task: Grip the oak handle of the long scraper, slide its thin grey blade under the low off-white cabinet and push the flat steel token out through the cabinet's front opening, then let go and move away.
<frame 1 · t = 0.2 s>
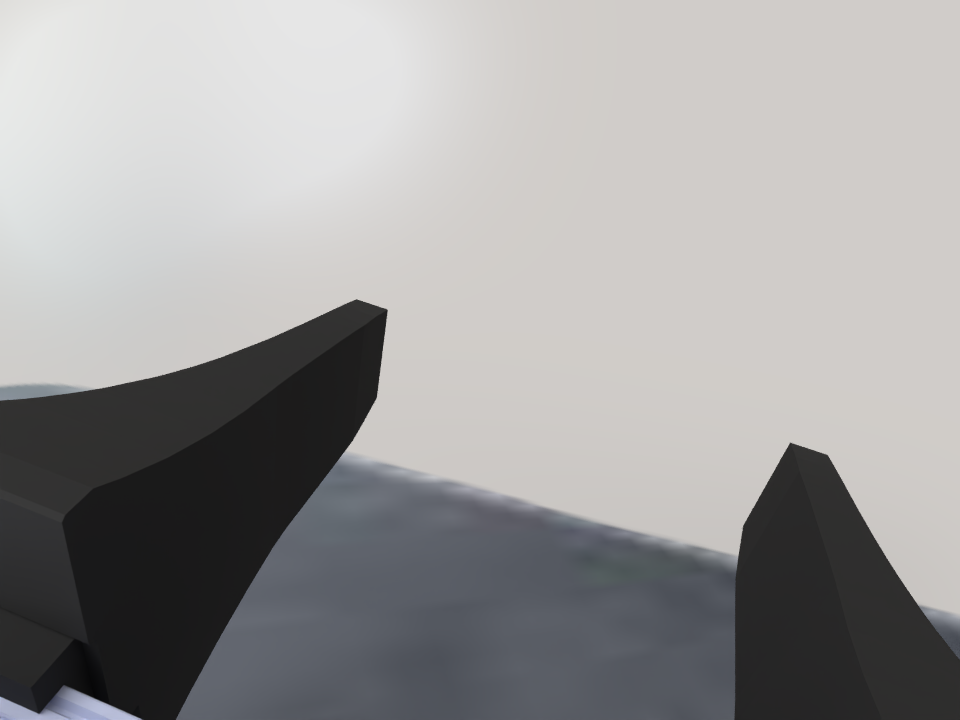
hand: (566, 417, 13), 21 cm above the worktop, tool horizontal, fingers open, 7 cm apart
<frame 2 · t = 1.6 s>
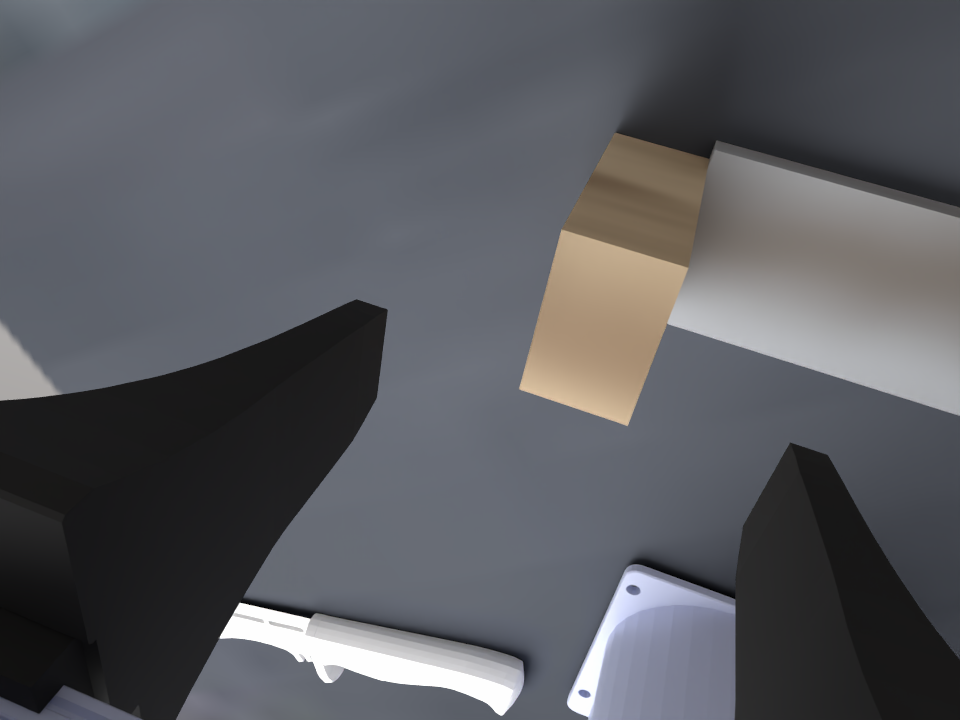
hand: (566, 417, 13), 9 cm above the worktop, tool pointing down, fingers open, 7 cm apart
scraper: (638, 215, 21), on the worktop
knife: (257, 637, 40), on the worktop
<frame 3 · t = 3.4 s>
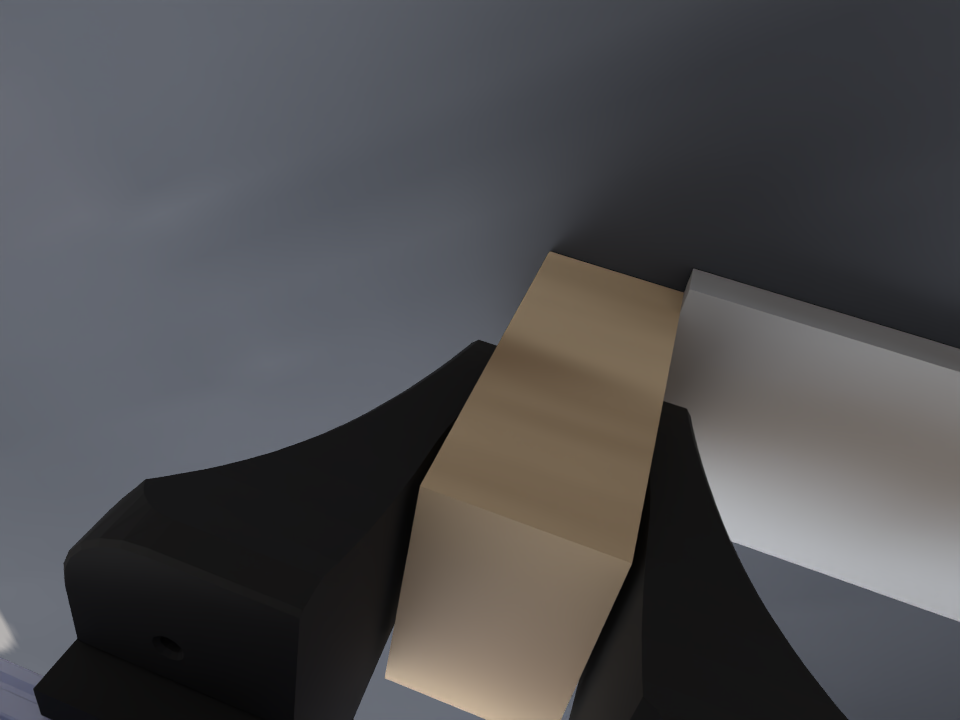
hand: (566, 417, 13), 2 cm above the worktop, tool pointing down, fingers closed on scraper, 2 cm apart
scraper: (587, 359, 15), on the worktop, touching gripper
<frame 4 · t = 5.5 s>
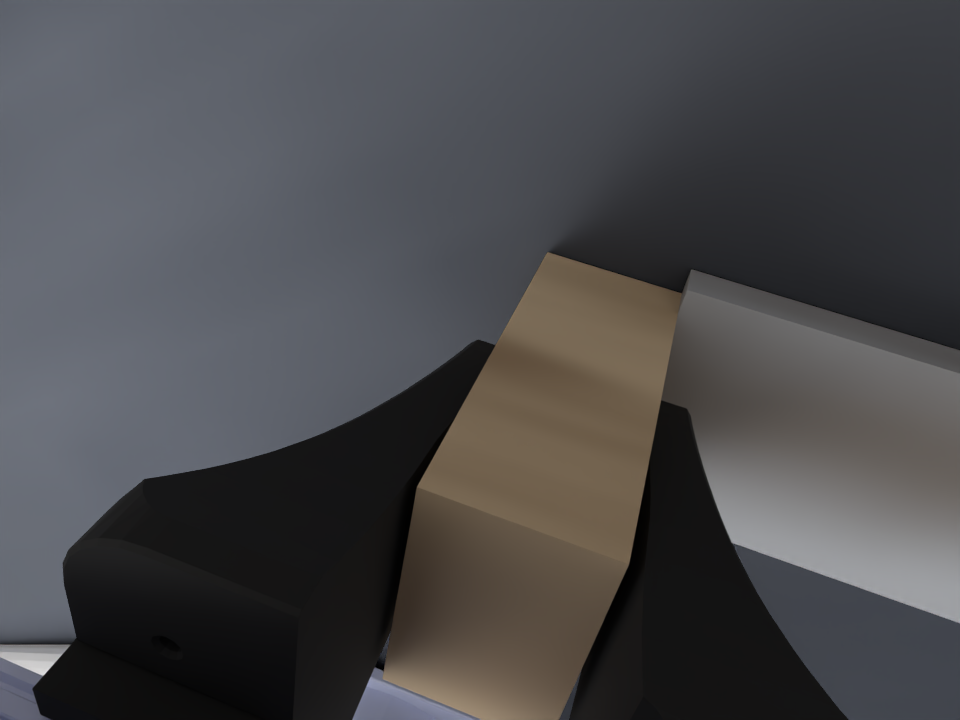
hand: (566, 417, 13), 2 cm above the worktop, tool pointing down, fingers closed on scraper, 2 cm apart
scraper: (585, 360, 15), on the worktop, touching gripper, token
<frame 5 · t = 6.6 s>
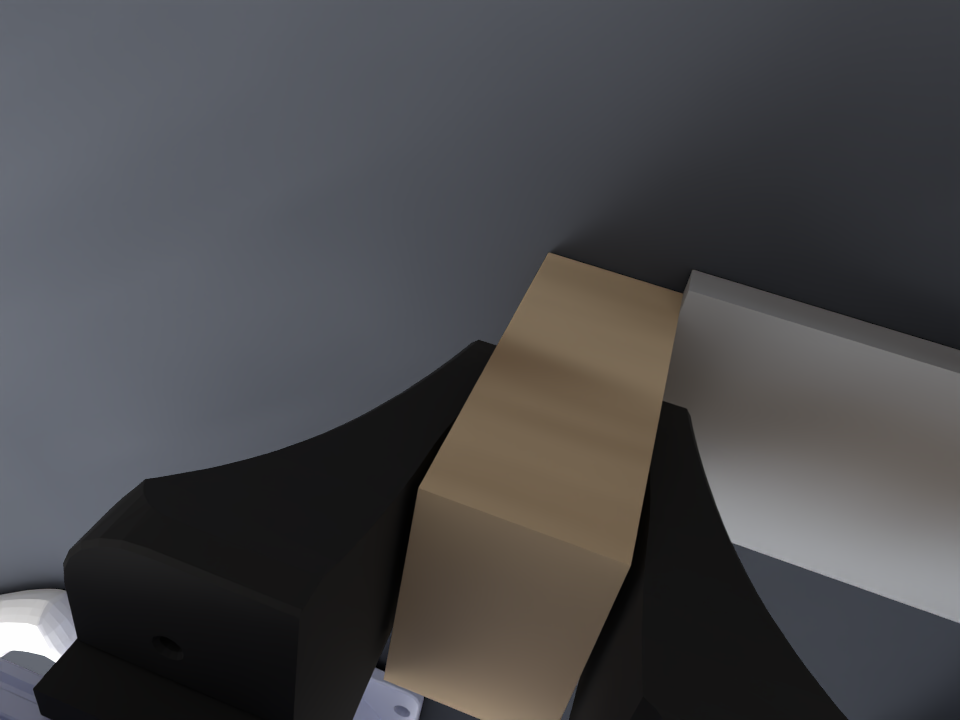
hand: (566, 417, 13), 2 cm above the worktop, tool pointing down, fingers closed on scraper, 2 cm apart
scraper: (586, 360, 15), on the worktop, touching gripper
when the fingers open (2 cm above the worktop, at t = 7.4 s): scraper stays where it is, on the worktop.
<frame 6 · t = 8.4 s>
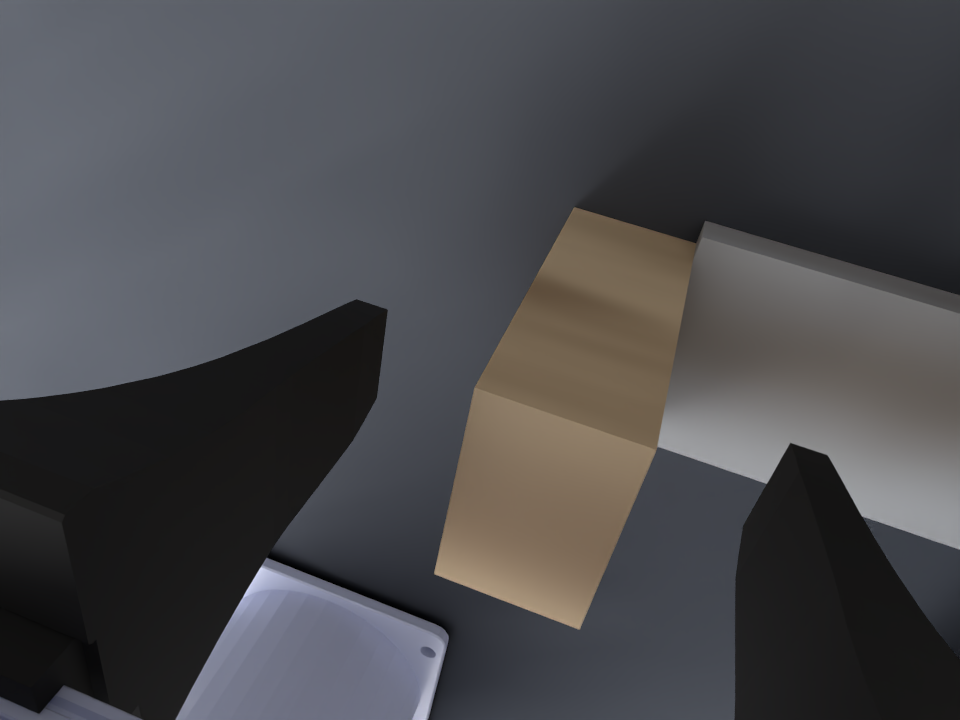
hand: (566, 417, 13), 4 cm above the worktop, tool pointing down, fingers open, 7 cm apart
scraper: (607, 308, 16), on the worktop
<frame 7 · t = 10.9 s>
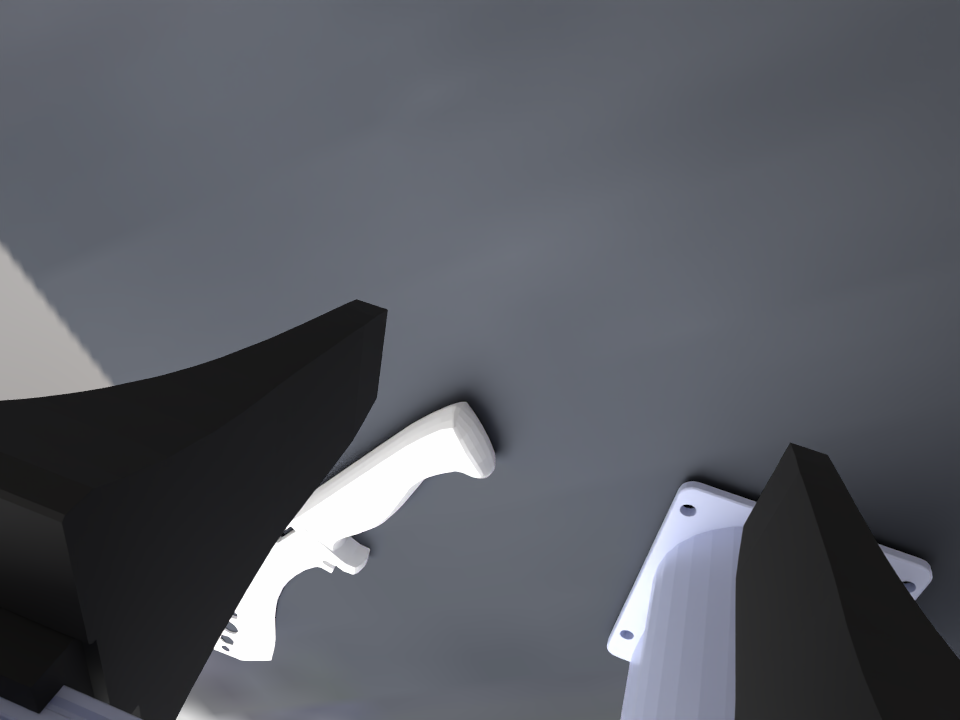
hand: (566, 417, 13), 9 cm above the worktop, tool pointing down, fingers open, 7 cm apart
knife: (310, 583, 36), on the worktop
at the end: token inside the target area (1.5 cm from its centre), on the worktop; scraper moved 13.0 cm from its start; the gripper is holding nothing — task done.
